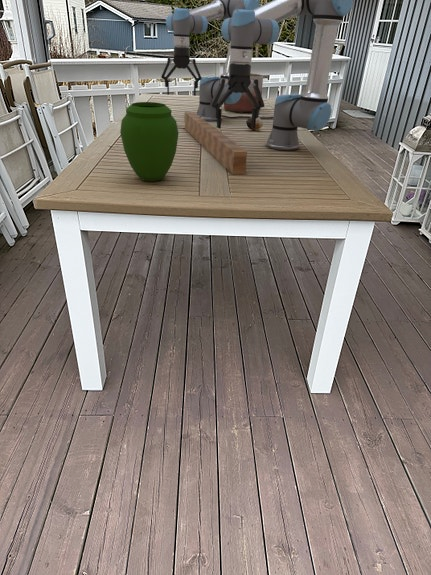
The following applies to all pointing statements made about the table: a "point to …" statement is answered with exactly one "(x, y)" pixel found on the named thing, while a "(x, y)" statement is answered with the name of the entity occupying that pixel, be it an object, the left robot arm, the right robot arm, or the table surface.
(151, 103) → the vase
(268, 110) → the table surface
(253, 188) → the table surface
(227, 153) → the beam
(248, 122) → the seashell
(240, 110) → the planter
